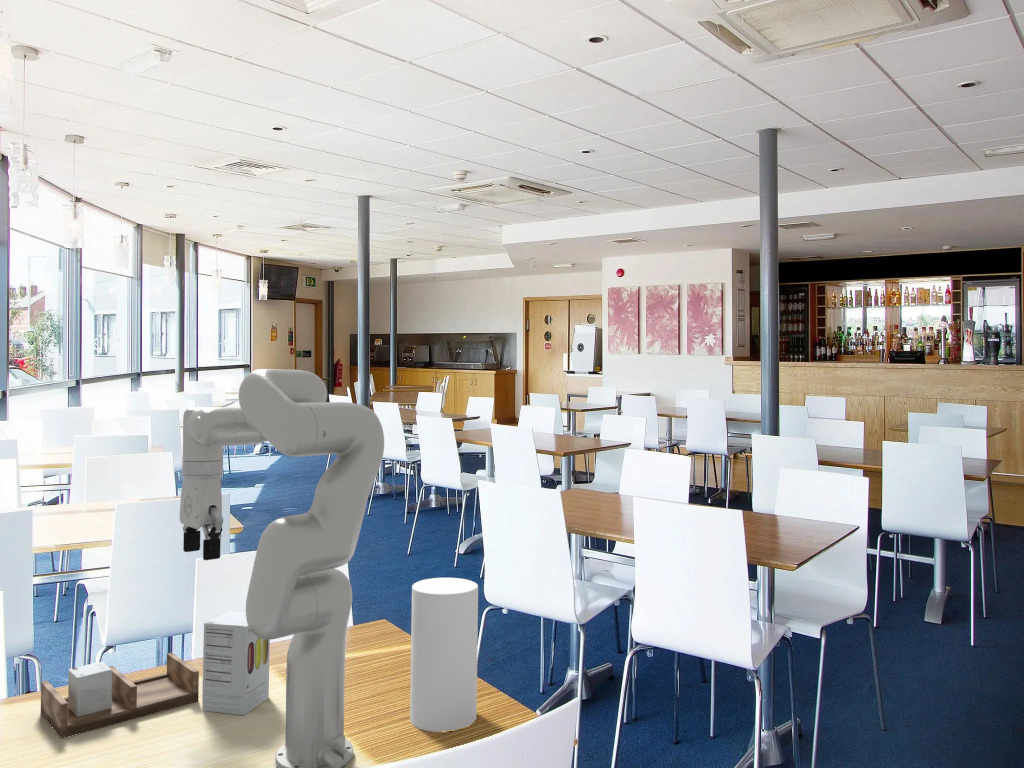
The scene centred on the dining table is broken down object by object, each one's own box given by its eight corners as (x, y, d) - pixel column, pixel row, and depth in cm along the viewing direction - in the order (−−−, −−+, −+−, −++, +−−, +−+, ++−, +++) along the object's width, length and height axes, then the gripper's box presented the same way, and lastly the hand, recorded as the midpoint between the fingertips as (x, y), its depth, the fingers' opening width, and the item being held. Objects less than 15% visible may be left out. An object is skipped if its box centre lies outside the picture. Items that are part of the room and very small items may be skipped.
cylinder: (489, 714, 148) (491, 583, 148) (449, 738, 138) (451, 597, 138) (438, 699, 155) (439, 574, 155) (396, 721, 144) (398, 587, 145)
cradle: (198, 701, 152) (198, 670, 152) (61, 738, 135) (61, 704, 136) (171, 681, 162) (171, 652, 162) (40, 713, 146) (41, 681, 146)
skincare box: (112, 708, 145) (113, 669, 145) (76, 718, 140) (77, 677, 140) (102, 699, 149) (102, 660, 149) (66, 707, 145) (67, 668, 145)
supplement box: (244, 716, 146) (245, 626, 146) (200, 711, 148) (201, 623, 148) (270, 696, 155) (271, 612, 155) (228, 692, 157) (229, 609, 157)
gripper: (167, 466, 158) (165, 550, 158) (201, 474, 146) (200, 565, 146) (203, 464, 163) (202, 545, 163) (240, 471, 151) (238, 559, 151)
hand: (201, 555), depth 154 cm, fingers open, 9 cm apart
